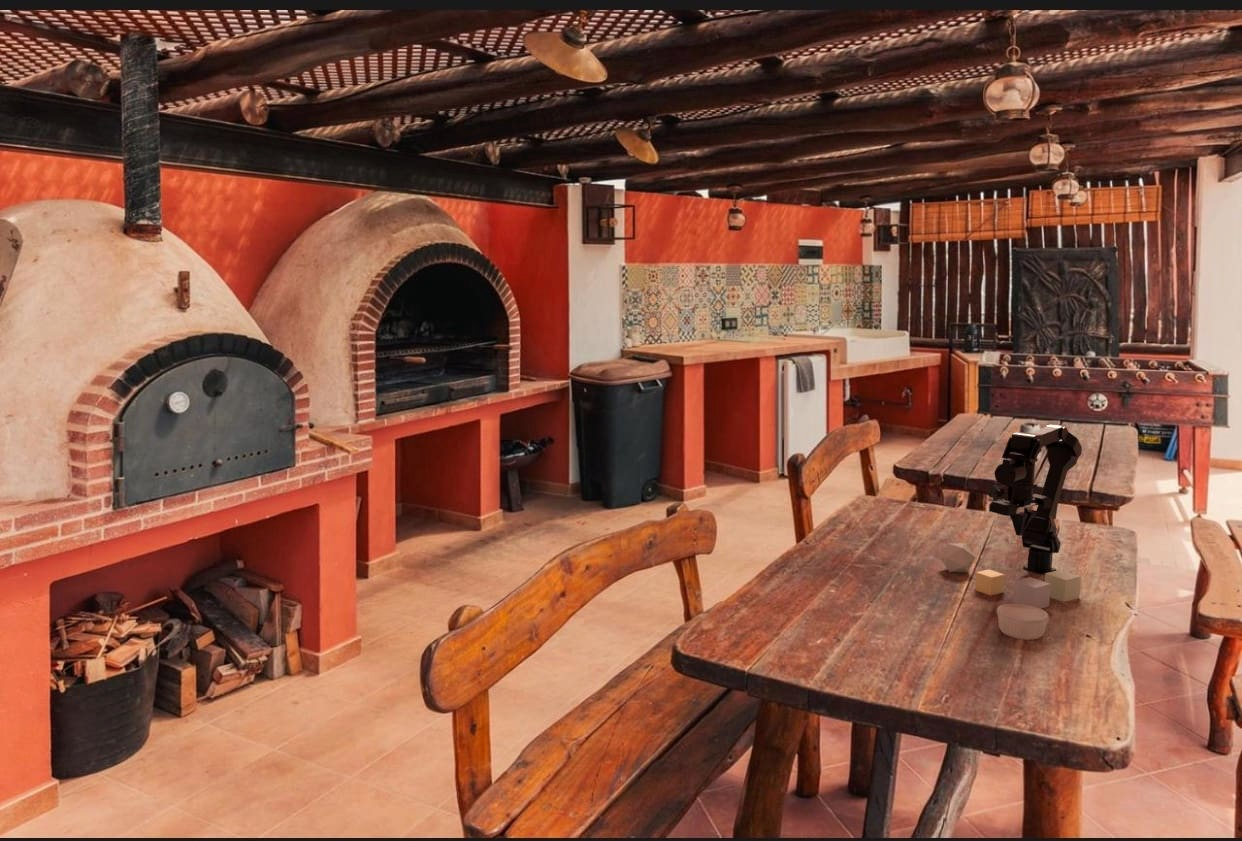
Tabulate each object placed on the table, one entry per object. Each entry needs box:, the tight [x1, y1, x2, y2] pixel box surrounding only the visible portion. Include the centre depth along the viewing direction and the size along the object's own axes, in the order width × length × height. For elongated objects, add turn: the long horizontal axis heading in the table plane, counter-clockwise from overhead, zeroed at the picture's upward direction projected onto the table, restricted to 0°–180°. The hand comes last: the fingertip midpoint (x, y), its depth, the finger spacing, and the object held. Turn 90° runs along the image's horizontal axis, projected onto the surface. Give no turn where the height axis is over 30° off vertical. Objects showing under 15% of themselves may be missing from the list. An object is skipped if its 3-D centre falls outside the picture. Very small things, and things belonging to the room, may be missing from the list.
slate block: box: [1012, 576, 1051, 610], centre depth 231 cm, size 6×6×6 cm
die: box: [940, 542, 976, 573], centre depth 258 cm, size 8×9×10 cm
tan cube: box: [1044, 569, 1082, 603], centre depth 237 cm, size 6×6×6 cm
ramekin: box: [996, 603, 1049, 641], centre depth 213 cm, size 11×11×5 cm
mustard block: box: [974, 569, 1006, 596], centre depth 241 cm, size 5×5×5 cm
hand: (1018, 535), depth 248 cm, fingers closed
